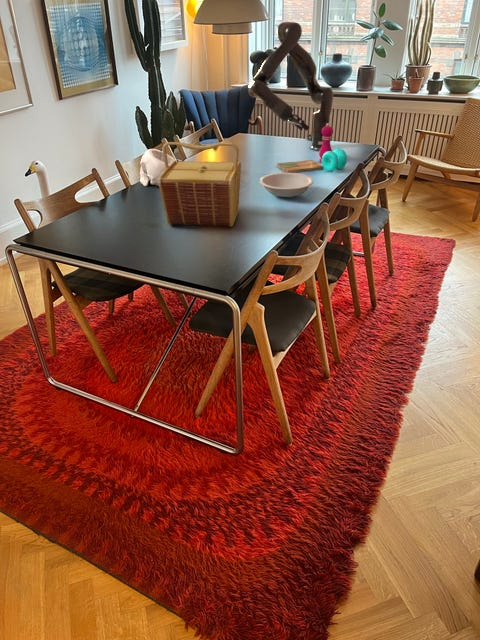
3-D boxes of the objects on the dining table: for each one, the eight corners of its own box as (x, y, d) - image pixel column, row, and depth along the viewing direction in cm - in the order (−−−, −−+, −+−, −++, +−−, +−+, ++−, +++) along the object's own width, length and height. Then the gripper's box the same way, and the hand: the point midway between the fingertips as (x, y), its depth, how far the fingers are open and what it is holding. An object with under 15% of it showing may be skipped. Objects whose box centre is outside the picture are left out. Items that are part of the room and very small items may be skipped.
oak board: (277, 166, 255) (277, 163, 254) (311, 162, 260) (311, 159, 259) (287, 173, 244) (287, 170, 243) (323, 169, 248) (323, 166, 248)
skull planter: (147, 173, 243) (156, 140, 229) (176, 196, 240) (187, 165, 226) (128, 180, 233) (137, 146, 220) (158, 205, 230) (169, 172, 217)
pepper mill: (332, 160, 262) (335, 122, 251) (331, 164, 256) (334, 124, 245) (319, 160, 264) (321, 121, 253) (317, 163, 258) (320, 124, 247)
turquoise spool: (319, 170, 248) (321, 150, 242) (332, 166, 253) (333, 146, 248) (334, 174, 241) (336, 153, 236) (347, 169, 247) (349, 150, 241)
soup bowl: (319, 189, 221) (320, 175, 218) (302, 206, 203) (303, 191, 199) (271, 184, 230) (271, 170, 226) (251, 199, 212) (251, 185, 208)
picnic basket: (160, 230, 185) (151, 150, 168) (177, 207, 206) (170, 134, 190) (235, 233, 181) (233, 151, 165) (244, 209, 202) (243, 134, 186)
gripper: (290, 102, 238) (314, 122, 244) (281, 103, 251) (304, 122, 257) (281, 115, 240) (305, 135, 246) (273, 116, 252) (296, 135, 259)
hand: (305, 129), depth 252 cm, fingers open, 8 cm apart
